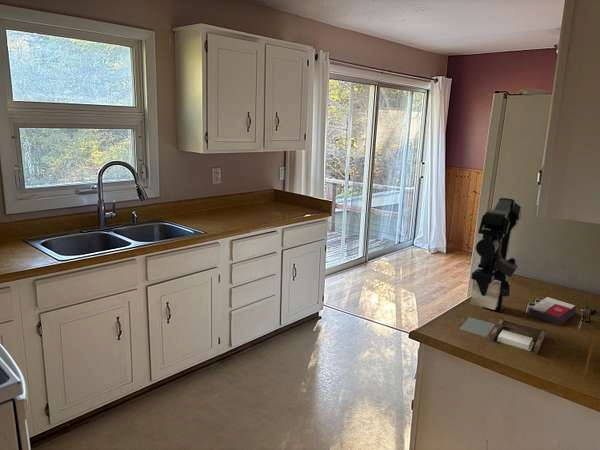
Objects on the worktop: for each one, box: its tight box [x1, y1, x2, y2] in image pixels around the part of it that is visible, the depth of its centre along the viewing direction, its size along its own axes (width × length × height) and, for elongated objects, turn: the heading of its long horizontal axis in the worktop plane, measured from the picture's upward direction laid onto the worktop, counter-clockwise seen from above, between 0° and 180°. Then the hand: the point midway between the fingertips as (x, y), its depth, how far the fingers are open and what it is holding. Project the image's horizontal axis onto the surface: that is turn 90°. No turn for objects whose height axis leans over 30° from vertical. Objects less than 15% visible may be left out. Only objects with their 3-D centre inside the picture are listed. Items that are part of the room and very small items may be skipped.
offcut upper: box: [496, 329, 534, 350], centre depth 149 cm, size 6×9×1 cm
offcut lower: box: [496, 339, 535, 352], centre depth 149 cm, size 7×10×1 cm
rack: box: [489, 318, 547, 356], centre depth 151 cm, size 15×14×3 cm
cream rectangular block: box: [469, 279, 501, 311], centre depth 155 cm, size 4×8×9 cm, turn 55°
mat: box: [459, 316, 496, 338], centre depth 159 cm, size 12×9×1 cm
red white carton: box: [528, 296, 577, 326], centre depth 172 cm, size 11×4×15 cm
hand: (485, 293), depth 156 cm, fingers closed on cream rectangular block, 4 cm apart
